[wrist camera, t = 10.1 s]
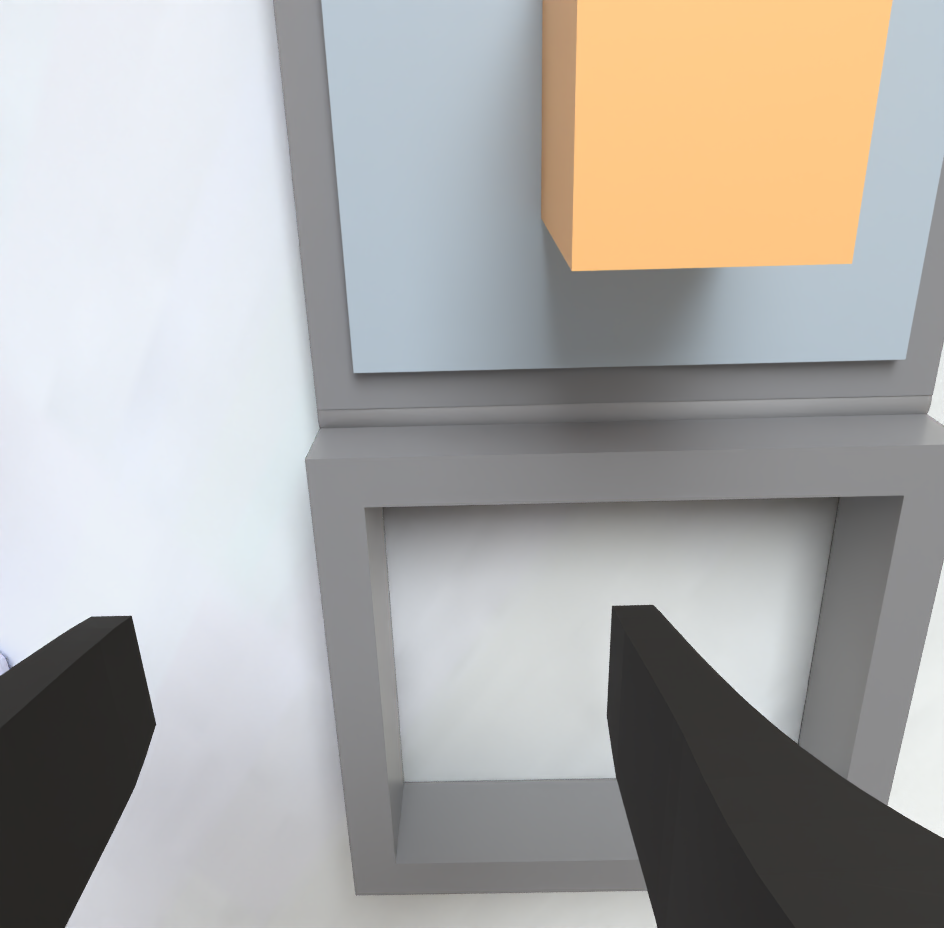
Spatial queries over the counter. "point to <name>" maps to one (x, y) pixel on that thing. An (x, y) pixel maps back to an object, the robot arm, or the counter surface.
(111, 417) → the counter surface
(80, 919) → the counter surface
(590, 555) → the counter surface
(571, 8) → the block
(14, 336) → the counter surface
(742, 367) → the grey framed tray
